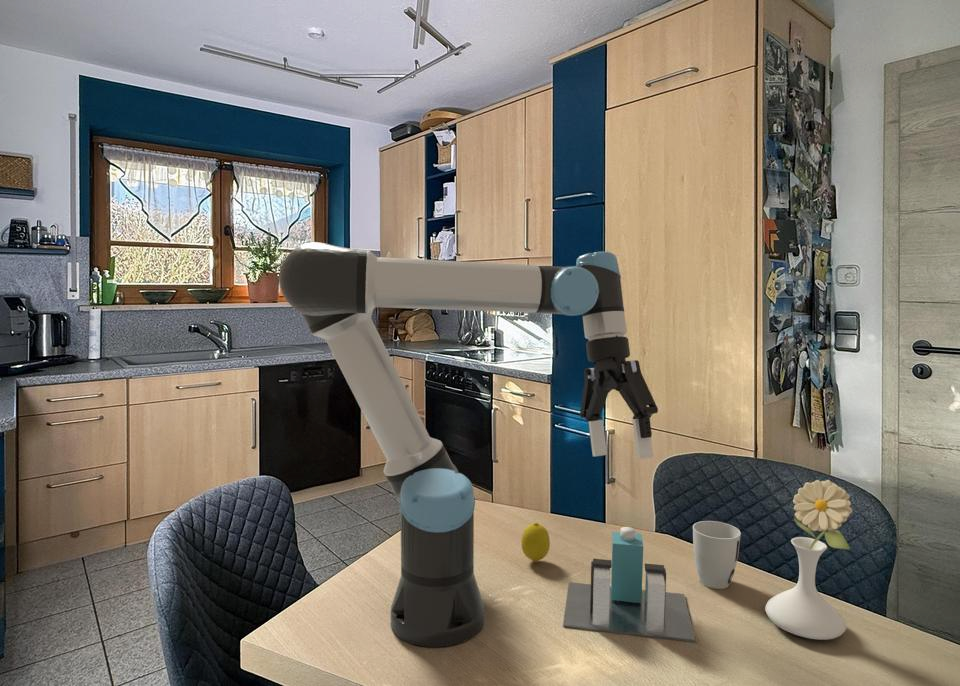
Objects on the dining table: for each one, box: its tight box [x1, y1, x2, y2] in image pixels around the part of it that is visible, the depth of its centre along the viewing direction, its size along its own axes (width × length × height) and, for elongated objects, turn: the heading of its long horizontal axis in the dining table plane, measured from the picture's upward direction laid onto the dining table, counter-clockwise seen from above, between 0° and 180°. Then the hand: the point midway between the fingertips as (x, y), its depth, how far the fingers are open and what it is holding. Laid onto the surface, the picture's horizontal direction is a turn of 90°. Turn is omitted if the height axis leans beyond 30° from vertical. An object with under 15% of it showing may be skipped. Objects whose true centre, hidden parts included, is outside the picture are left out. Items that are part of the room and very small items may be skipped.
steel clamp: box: [562, 558, 696, 643], centre depth 101 cm, size 20×14×9 cm
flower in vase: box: [764, 479, 853, 641], centre depth 95 cm, size 13×11×25 cm
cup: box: [692, 520, 742, 590], centre depth 111 cm, size 8×8×10 cm
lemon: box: [520, 522, 551, 563], centre depth 119 cm, size 6×6×8 cm
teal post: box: [610, 526, 644, 603], centre depth 105 cm, size 5×5×12 cm
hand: (621, 456), depth 108 cm, fingers open, 13 cm apart
